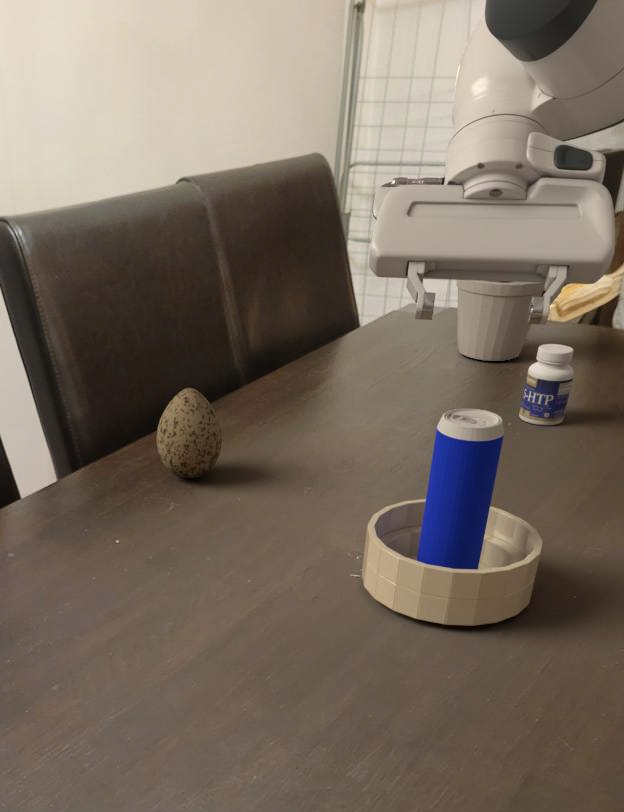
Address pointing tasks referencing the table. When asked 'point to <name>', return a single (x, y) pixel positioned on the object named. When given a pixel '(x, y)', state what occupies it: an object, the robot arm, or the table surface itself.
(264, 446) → the table surface
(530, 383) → the pill bottle
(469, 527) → the beverage can
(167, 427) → the decorative egg
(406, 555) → the bowl
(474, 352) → the potted plant
